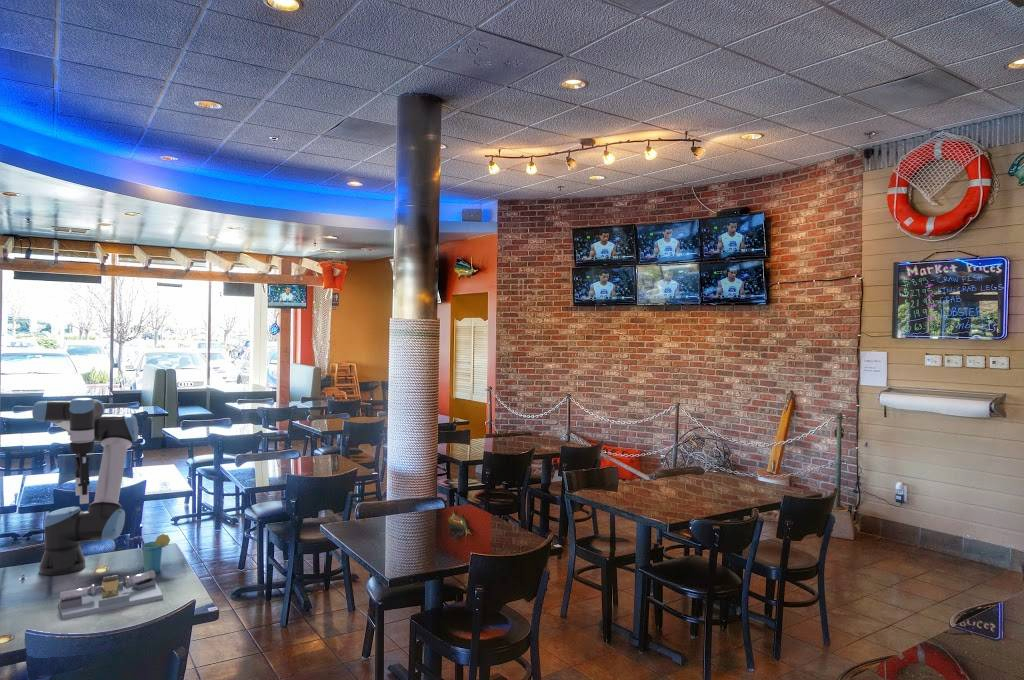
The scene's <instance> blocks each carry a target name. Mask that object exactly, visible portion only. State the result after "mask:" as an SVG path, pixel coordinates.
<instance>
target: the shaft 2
mask: <svg viewBox="0 0 1024 680" xmlns="http://www.w3.org/2000/svg"><path fill="white" fill-rule="evenodd" d="M156 575H157V573H155V571H154V570H152V571H148V572H145V571H144V572H141V573H139V574H134V575H132V576H130V575H126V576H124V577H122V582H123V587H125V588H126V589H128V588H131V587H132V588H134V589H136V590H138V591H141V590H144V589H147V588H150V587H153V586H156V584H157V583H156V582H157V580H156Z"/></svg>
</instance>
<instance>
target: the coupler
mask: <svg viewBox="0 0 1024 680" xmlns="http://www.w3.org/2000/svg"><path fill="white" fill-rule="evenodd" d="M119 582H120V581H119V575H118V574H115V575H108V576H103V577H102V581H101V586H102V599H104V598H109V597H114V596H119Z"/></svg>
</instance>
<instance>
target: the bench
mask: <svg viewBox="0 0 1024 680" xmlns="http://www.w3.org/2000/svg"><path fill="white" fill-rule="evenodd" d="M95 590H96V594H95V597H91V596H86V597H81V598H76V599H71V600H66V601H61V602H60V598H59V599H58V601H57V602H58V608H59V611H60V616H61V620H67V619H71V618H76V617H77V618H78V617H81V616H85V615H87V616H88V615H91V614H96V613H101V612H105V611H110V610H115V609H120V608H124V607H130V606H134V605H140V604H144V603H149V602H154V601H159V600H163V599H164V593H162V591H161V589H160V587H159V585H158V584H157V583H156V586H153V587H150V588H147V589H144V590H141V591H138V590H136V589H134V588H132V587H131V588H128V589H126V588H125V587H124V586H123V581H119V596H114V597H109V598H104V599H102V585H98V586H96V585H95Z"/></svg>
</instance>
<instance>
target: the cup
mask: <svg viewBox="0 0 1024 680" xmlns="http://www.w3.org/2000/svg"><path fill="white" fill-rule="evenodd" d="M136 539H139V540H140V542H141V543H142V544H141V550H142V558H143V566H144V567H143V568H144V573H145V572H148V571H152V570H154V571H155V572H157V573H159V572H160V571H161V563H162V551H163V548H166V547H167V546H168V545H169V543H170V541H171V538H170V537H169V535H168V534H164V533H163V534H162V533H161V534H159V535H158V536H157V537H156V538H155V541H149V542H145V541H144V538H143V537H142V536H140V535H136V536H134V537H131V538H129V540H130V541H134V540H136ZM159 570H160V571H159Z"/></svg>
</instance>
